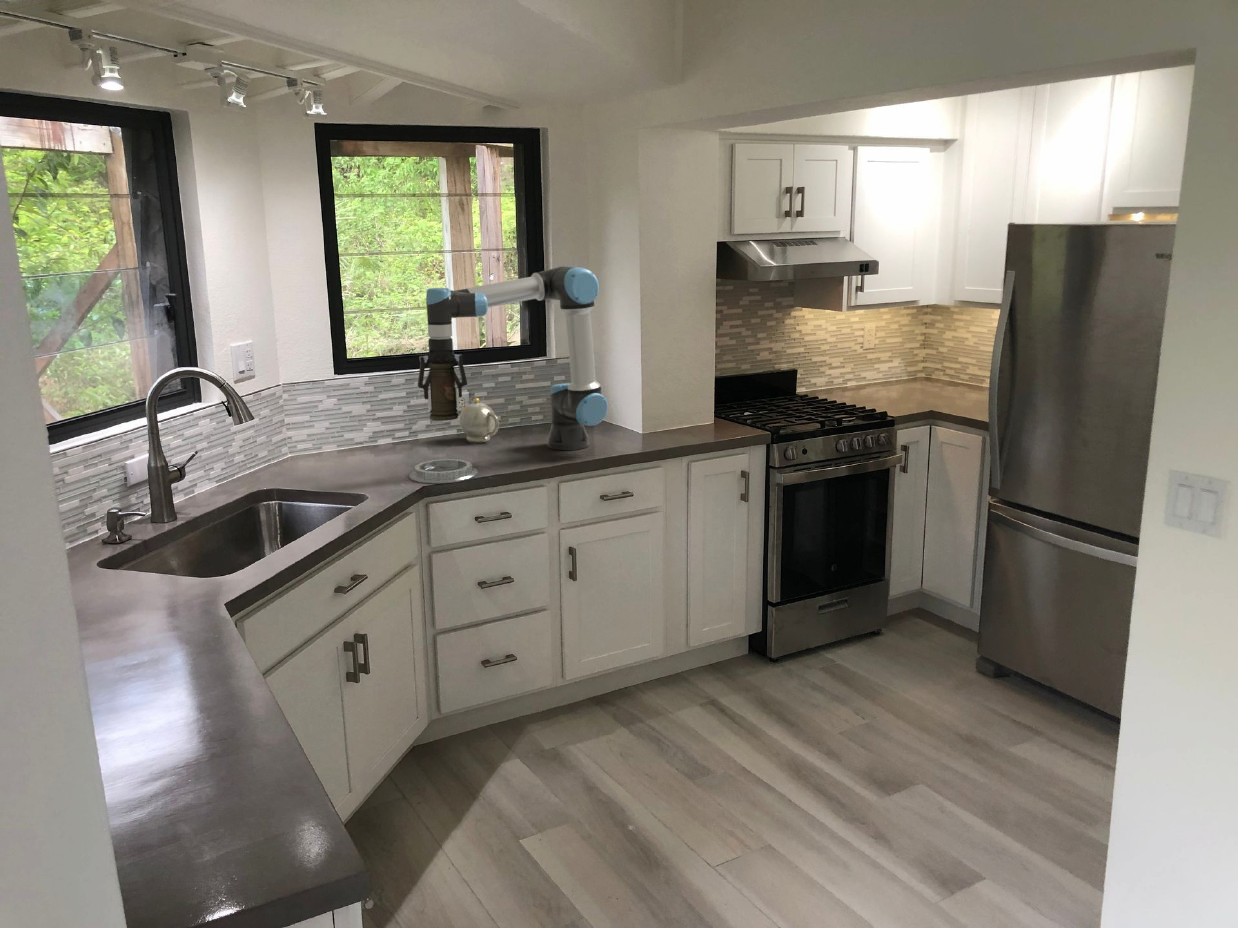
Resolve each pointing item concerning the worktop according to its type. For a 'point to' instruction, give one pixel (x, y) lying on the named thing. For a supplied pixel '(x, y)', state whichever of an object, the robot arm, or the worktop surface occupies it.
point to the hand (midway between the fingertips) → (443, 408)
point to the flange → (443, 471)
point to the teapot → (478, 422)
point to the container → (442, 392)
